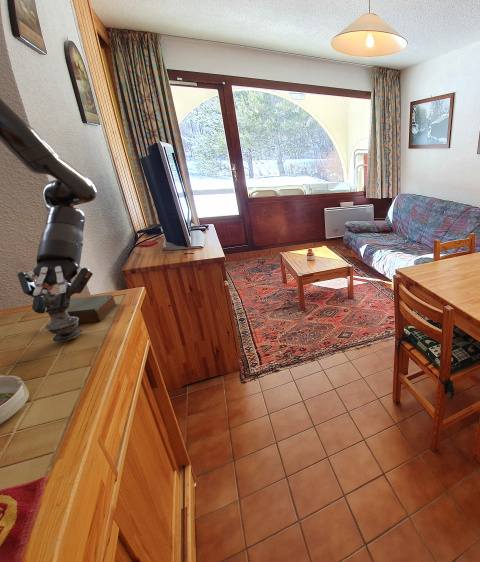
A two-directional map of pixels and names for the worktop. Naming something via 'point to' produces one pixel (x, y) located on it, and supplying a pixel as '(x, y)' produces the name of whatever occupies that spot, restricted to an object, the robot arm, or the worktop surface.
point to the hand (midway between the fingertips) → (50, 311)
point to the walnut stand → (91, 308)
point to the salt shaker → (60, 320)
